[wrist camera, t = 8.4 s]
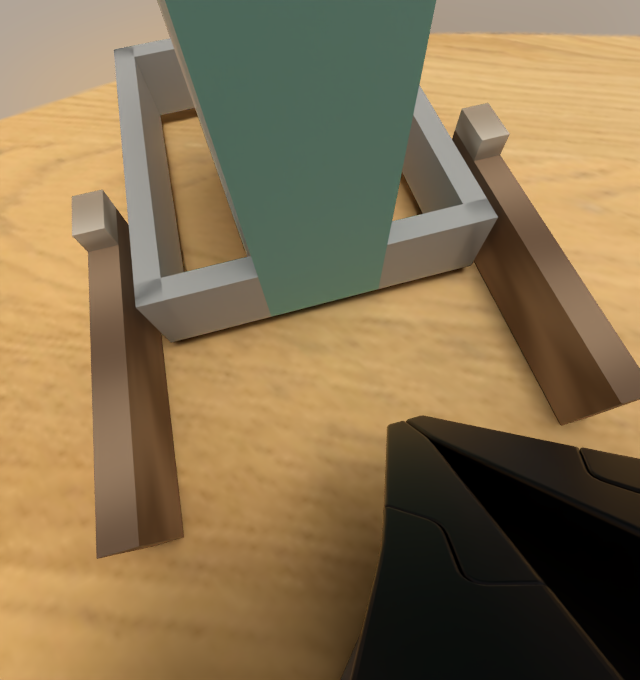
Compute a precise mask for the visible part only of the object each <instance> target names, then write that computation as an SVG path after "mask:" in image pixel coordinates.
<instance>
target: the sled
mask: <svg viewBox="0 0 640 680" xmlns="http://www.w3.org/2000/svg"><path fill="white" fill-rule="evenodd" d="M165 2H166V5H167V8H168V11H169V14H170V17H171V20H172V23H173V26H174V29H175V32H176V35H177V38H178V41H179V44H180V47H181V50H182V53H183V56H184V59H185V62H186V65H187V68H188V71H189V73H190V76H191V79H192V82H193V85H194V88H195V91H196V94H197V97H198V100H199V103H200V106H201V109H202V112H203V115H204V118H205V121H206V124H207V127H208V130H209V133H210V136H211V139H212V142H213V145H214V148H215V151H216V154H217V157H218V160H219V163H220V166H221V169H222V172H223V175H224V178H225V180H226V183H227V186H228V189H229V192H230V195H231V198H232V201H233V204H234V207H235V210H236V213H237V216H238V219H239V222H240V225H241V228H242V231H243V234H244V237H245V240H246V243H247V246H248V249H249V252H250V255H251V256H249V257H244V258H240V259H236V260H232V261H228V262H224V263H220V264H216V265H212V266H208V267H204V268H199V269H195V270H191V271H187V272H184V270H183V263H182V256H181V250H180V243H179V236H178V230H177V223H176V216H175V210H174V203H173V196H172V190H171V183H170V176H169V170H168V163H167V156H166V150H165V143H164V137H163V130H162V123H161V117H160V115H164V114H168V113H173V112H178V111H182V110H187V109H192V108H195V107H194V104H193V101H192V98H191V95H190V93H189V90H188V87H187V84H186V81H185V78H184V75H183V73H182V70H181V67H180V64H179V61H178V58H177V56H176V53H175V50H174V47H173V44H172V41H171V39H165V40H160V41H155V42H150V43H145V44H140V45H135V46H130V47H124V48H119V49H115V50H114V57H115V68H116V81H117V92H118V104H119V116H120V128H121V140H122V151H123V163H124V175H125V187H126V199H127V211H128V222H129V234H130V246H131V258H132V270H133V281H134V293H135V305H136V308H137V309H138V310H139V311H140V312H141V313H142V314H143V315H144V316H145V317H146V318H147V319H148V320H149V321H150V322H151V323H152V324H153V325H154V326H155V327H156V328H157V329H158V330H159V331H160V332H161V333H162V334H163V335H164V336H165V337H166V338H167V339H168V340H169V341H170V342H175V341H179V340H183V339H187V338H190V337H194V336H198V335H202V334H206V333H210V332H214V331H218V330H222V329H225V328H229V327H233V326H237V325H241V324H245V323H249V322H253V321H256V320H260V319H264V318H268V317H272V316H276V315H280V314H284V313H288V312H291V311H295V310H299V309H303V308H307V307H311V306H315V305H319V304H323V303H326V302H330V301H334V300H338V299H342V298H346V297H350V296H354V295H357V294H361V293H365V292H369V291H373V290H377V289H381V288H385V287H389V286H392V285H396V284H400V283H404V282H408V281H412V280H416V279H420V278H423V277H427V276H431V275H435V274H439V273H443V272H447V271H451V270H455V269H458V268H462V267H466V266H470V265H471V264H472V263H473V261H474V259H475V257H476V255H477V254H478V252H479V250H480V248H481V247H482V245H483V243H484V241H485V240H486V238H487V236H488V234H489V232H490V231H491V229H492V227H493V225H494V224H495V222H496V220H497V218H498V216H497V215H496V213H495V211H494V210H493V208H492V206H491V204H490V203H489V201H488V199H487V198H486V196H485V194H484V193H483V191H482V189H481V188H480V186H479V184H478V183H477V181H476V179H475V178H474V176H473V174H472V173H471V171H470V169H469V167H468V166H467V164H466V162H465V161H464V159H463V157H462V156H461V154H460V152H459V151H458V149H457V147H456V146H455V144H454V142H453V141H452V139H451V137H450V136H449V134H448V132H447V131H446V129H445V127H444V125H443V124H442V122H441V120H440V119H439V117H438V115H437V114H436V112H435V110H434V109H433V107H432V105H431V104H430V102H429V100H428V99H427V97H426V95H425V94H424V92H423V90H422V88H421V87H420V85H419V84H420V79H421V74H422V69H423V64H424V59H425V54H426V49H427V44H428V39H429V34H430V29H431V24H432V18H433V13H434V8H435V3H436V0H165ZM402 173H403V175H404V177H405V179H406V181H407V183H408V185H409V187H410V189H411V191H412V193H413V195H414V197H415V199H416V201H417V203H418V205H419V207H420V209H421V211H422V213H423V214H420V215H416V216H412V217H408V218H404V219H400V220H396V221H392V219H393V214H394V209H395V204H396V199H397V194H398V189H399V184H400V179H401V174H402Z"/></svg>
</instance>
